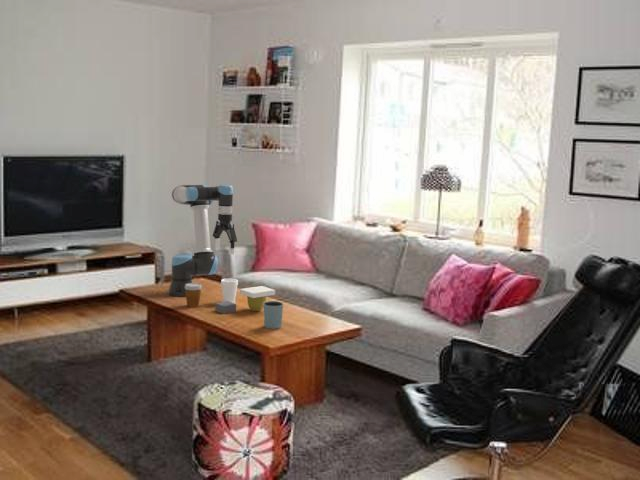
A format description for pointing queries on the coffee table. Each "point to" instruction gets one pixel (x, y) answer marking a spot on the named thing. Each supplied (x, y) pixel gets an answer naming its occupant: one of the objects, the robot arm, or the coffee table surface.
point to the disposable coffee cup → (193, 294)
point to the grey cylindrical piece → (273, 314)
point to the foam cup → (229, 289)
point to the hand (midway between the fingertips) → (224, 252)
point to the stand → (225, 307)
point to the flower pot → (256, 303)
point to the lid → (257, 291)
